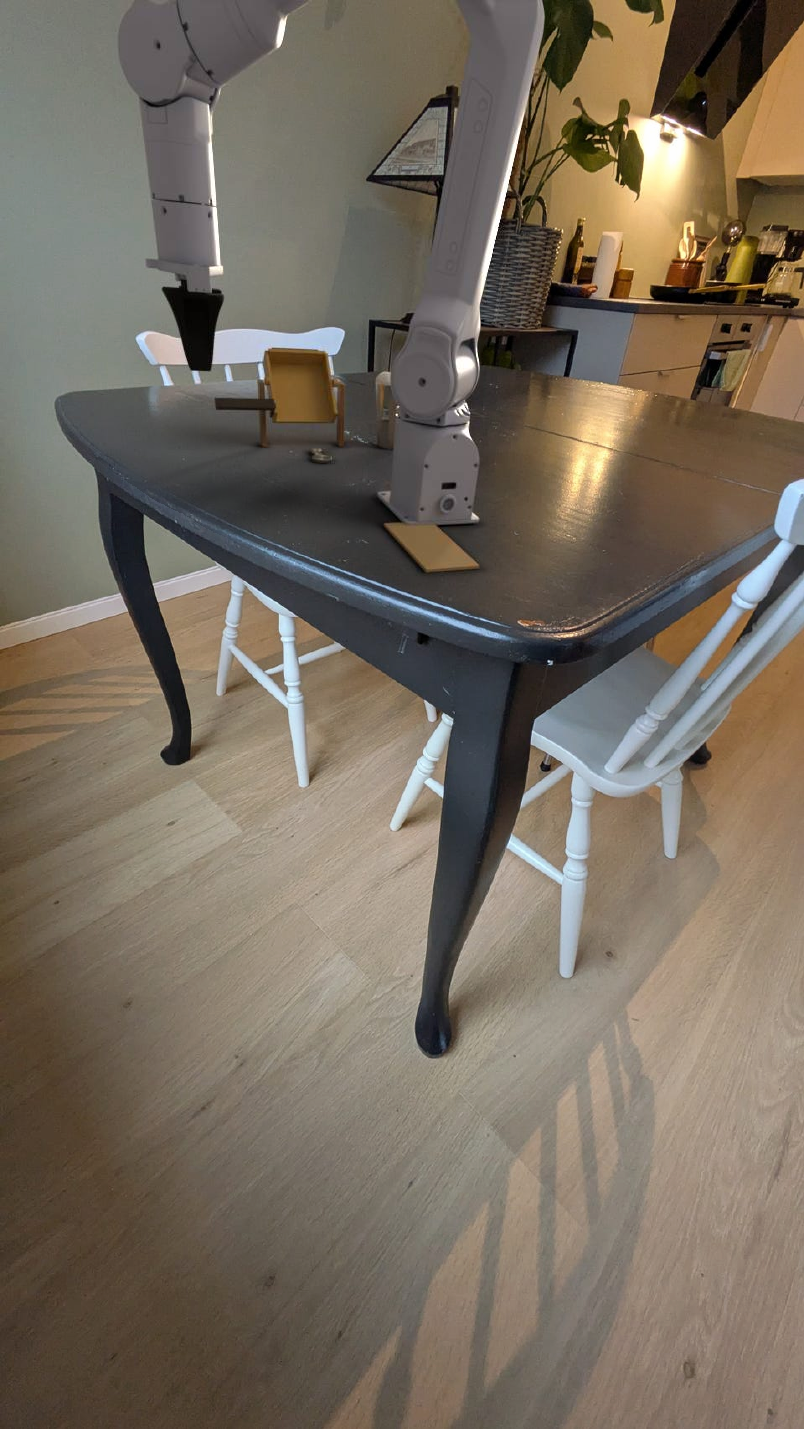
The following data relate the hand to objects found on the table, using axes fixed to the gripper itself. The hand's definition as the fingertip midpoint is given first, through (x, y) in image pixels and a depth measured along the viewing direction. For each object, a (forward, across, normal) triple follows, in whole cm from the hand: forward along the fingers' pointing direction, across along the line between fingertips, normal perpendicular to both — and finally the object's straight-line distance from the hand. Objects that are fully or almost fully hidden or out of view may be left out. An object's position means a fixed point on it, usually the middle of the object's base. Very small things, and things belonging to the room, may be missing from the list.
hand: (200, 370), depth 66 cm
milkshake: (+10, -9, +25) cm, 28 cm away
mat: (+10, +26, +16) cm, 32 cm away
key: (+10, -4, +14) cm, 17 cm away
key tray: (+4, -12, +10) cm, 16 cm away
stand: (+10, -10, +13) cm, 19 cm away
